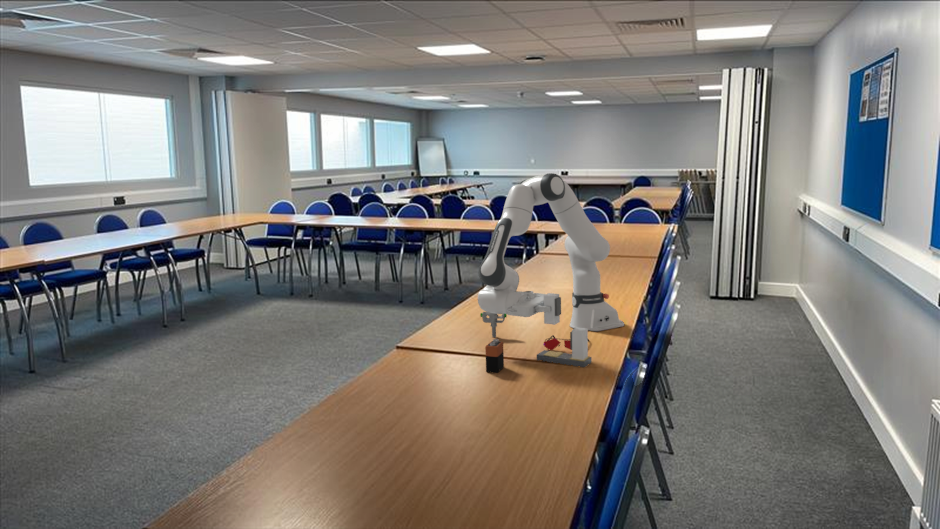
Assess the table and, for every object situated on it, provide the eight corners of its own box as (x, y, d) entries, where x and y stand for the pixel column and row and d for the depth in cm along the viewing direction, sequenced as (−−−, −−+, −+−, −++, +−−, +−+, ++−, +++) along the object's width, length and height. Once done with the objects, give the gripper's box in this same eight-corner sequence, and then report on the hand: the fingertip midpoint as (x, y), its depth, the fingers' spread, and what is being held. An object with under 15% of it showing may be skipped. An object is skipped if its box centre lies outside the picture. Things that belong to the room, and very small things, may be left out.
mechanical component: (506, 338, 259) (505, 313, 257) (480, 337, 261) (480, 313, 259) (507, 336, 262) (506, 312, 260) (482, 335, 264) (481, 311, 262)
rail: (536, 360, 230) (536, 354, 230) (544, 355, 235) (544, 349, 235) (584, 367, 221) (584, 361, 220) (591, 362, 226) (591, 356, 225)
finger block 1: (544, 323, 228) (543, 295, 226) (549, 320, 231) (548, 293, 229) (556, 324, 225) (556, 296, 223) (561, 322, 228) (561, 294, 227)
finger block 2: (570, 358, 224) (569, 329, 223) (574, 354, 227) (574, 326, 226) (583, 360, 222) (582, 331, 220) (587, 356, 225) (587, 328, 223)
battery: (504, 367, 224) (503, 338, 222) (498, 373, 218) (497, 344, 216) (492, 366, 226) (491, 338, 224) (485, 372, 219) (484, 343, 218)
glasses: (542, 351, 242) (542, 338, 241) (554, 339, 257) (554, 326, 256) (580, 354, 237) (580, 340, 236) (589, 341, 252) (589, 329, 251)
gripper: (504, 301, 225) (540, 304, 218) (531, 289, 242) (566, 292, 234) (504, 319, 226) (540, 323, 219) (532, 306, 243) (566, 310, 236)
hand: (554, 307), depth 227 cm, fingers closed on finger block 1, 4 cm apart
